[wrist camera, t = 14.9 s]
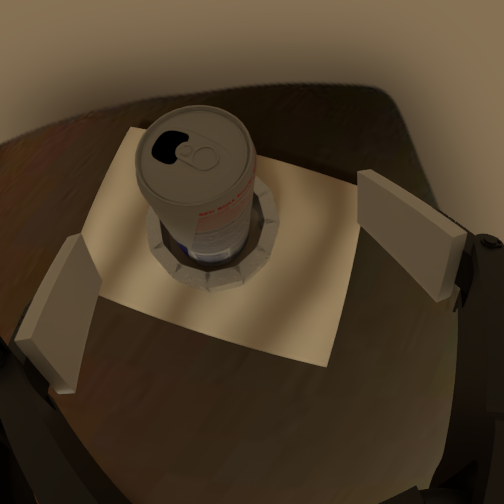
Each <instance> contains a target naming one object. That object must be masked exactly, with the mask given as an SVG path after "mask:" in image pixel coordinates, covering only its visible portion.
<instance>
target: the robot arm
mask: <svg viewBox="0 0 504 504" xmlns="http://www.w3.org/2000/svg"><path fill="white" fill-rule="evenodd" d="M357 223H358V224H359V225H360V226H362V227H363V228H364V229H365V230H366V231H367V232H368V233H369V234H370V235H371V236H372V237H373V238H374V239H375V240H376V241H377V242H378V243H379V244H380V245H381V246H382V247H383V248H384V249H385V250H387V251H388V252H389V253H390V254H391V255H392V256H393V257H394V258H395V259H396V260H397V261H398V262H399V263H400V264H401V266H402V267H403V268H404V269H405V270H406V271H407V272H408V273H409V274H410V275H411V276H412V277H413V278H414V279H415V280H416V281H417V282H418V283H419V284H420V285H421V286H422V287H423V288H424V290H425V291H426V292H427V293H428V294H429V295H430V296H431V297H432V298H433V299H434V300H435V301H436V303H437V302H439V301H441V300H444V299H446V298H448V297H450V296H451V294H452V290H453V287H454V284H456V285H457V286H458V287H459V288H460V291H459V294H458V297H457V300H456V303H455V306H454V309H453V312H456V309H457V308H458V345H457V362H456V375H455V385H454V394H453V402H452V409H451V416H450V422H449V428H448V433H447V438H446V443H445V448H444V453H443V456H442V459H441V461H440V463H439V465H438V467H437V469H436V470H435V473H434V475H433V477H432V480H431V483H430V486H429V489H424V490H418V488H417V486H414V487H412V488H410V489H408V490H406V491H404V492H402V493H400V494H398V495H396V496H394V497H392V498H390V499H388V500H386V501H383V502H381V503H379V504H504V244H503V243H502V242H501V241H500V240H499V239H498V238H496V237H494V236H491V235H488V234H478V235H476V236H475V235H474V234H472V233H471V232H470V231H468V230H467V229H466V228H464V227H463V226H461V225H460V224H459V223H457V222H455V221H454V220H453V219H452V218H450V217H448V216H447V215H446V214H444V213H443V212H442V211H440V210H438V209H435V208H433V207H431V206H429V205H428V204H426V203H425V202H423V201H421V200H420V199H418V198H417V197H415V196H414V195H412V194H411V193H409V192H408V191H406V190H404V189H403V188H401V187H400V186H398V185H396V184H395V183H393V182H391V181H390V180H388V179H386V178H385V177H383V176H381V175H380V174H378V173H376V172H374V171H373V170H371V169H369V170H363V171H357ZM101 284H102V279H101V277H100V275H99V273H98V271H97V269H96V266H95V264H94V262H93V260H92V257H91V255H90V253H89V251H88V248H87V246H86V244H85V241H84V239H83V236H82V234H81V233H80V234H76V235H73V236H70V237H67V239H66V241H65V242H64V244H63V246H62V247H61V249H60V251H59V252H58V254H57V256H56V257H55V259H54V261H53V263H52V265H51V266H50V268H49V270H48V272H47V274H46V275H45V277H44V279H43V281H42V283H41V285H40V287H39V289H38V291H37V293H36V295H35V297H34V299H32V300H31V302H30V303H29V304H28V305H27V306H26V308H25V309H24V312H23V314H22V316H21V319H20V320H19V322H18V326H16V329H15V331H14V333H13V335H12V338H11V340H10V342H9V345H8V346H7V345H6V343H5V342H4V341H3V339H2V338H1V336H0V504H37V503H36V500H35V497H34V495H35V496H36V498H37V500H38V502H39V503H40V504H132V503H131V502H130V501H129V500H128V499H127V498H126V497H125V496H124V495H123V494H122V492H121V491H120V490H119V489H118V488H117V487H116V486H115V485H114V483H113V482H112V481H111V480H110V479H109V477H108V476H107V475H106V474H105V473H104V471H103V470H102V469H101V468H100V466H99V465H98V464H97V463H96V461H95V460H94V459H93V457H92V456H91V455H90V453H89V452H88V451H87V449H86V448H85V447H84V445H83V444H82V443H81V441H80V440H79V438H78V437H77V435H76V434H75V432H74V431H73V430H72V428H71V427H70V425H69V424H68V422H67V420H66V419H65V417H64V416H63V414H62V413H61V411H60V409H59V408H58V406H57V404H56V403H55V401H54V399H53V398H52V397H51V396H50V395H49V394H48V388H49V384H50V385H51V386H52V387H53V389H54V390H55V391H56V392H57V393H58V394H66V393H75V391H76V386H77V380H78V375H79V370H80V365H81V361H82V356H83V352H84V347H85V343H86V339H87V335H88V331H89V327H90V323H91V319H92V316H93V312H94V308H95V305H96V301H97V298H98V294H99V291H100V288H101ZM33 493H34V494H33Z"/></svg>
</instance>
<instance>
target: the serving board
mask: <svg viewBox="0 0 504 504" xmlns="http://www.w3.org/2000/svg"><path fill="white" fill-rule="evenodd" d="M145 131H146V129H140V128H134V127H130V129H129V131H128V132H127V134H126V136H125V138H124V140H123V142H122V144H121V146H120V147H119V149H118V151H117V153H116V155H115V157H114V159H113V161H112V163H111V165H110V167H109V169H108V172H107V174H106V176H105V178H104V180H103V182H102V184H101V187H100V189H99V191H98V193H97V195H96V198H95V200H94V202H93V205H92V207H91V209H90V212H89V214H88V217H87V219H86V222H85V224H84V227H83V229H82V232H81V234H82V236H83V239H84V241H85V244H86V246H87V248H88V251H89V253H90V255H91V257H92V260H93V262H94V264H95V266H96V269H97V271H98V273H99V275H100V277H101V279H102V284H101V288H100V291H99V294H98V295H100V296H102V297H105V298H107V299H110V300H112V301H115V302H117V303H120V304H122V305H125V306H127V307H130V308H133V309H135V310H138V311H141V312H143V313H146V314H149V315H151V316H154V317H157V318H160V319H162V320H165V321H168V322H171V323H174V324H177V325H180V326H183V327H186V328H189V329H192V330H195V331H198V332H201V333H204V334H207V335H210V336H213V337H216V338H220V339H223V340H226V341H229V342H233V343H236V344H239V345H243V346H246V347H250V348H253V349H257V350H260V351H264V352H268V353H271V354H275V355H279V356H283V357H287V358H290V359H294V360H298V361H302V362H307V363H311V364H315V365H319V366H324V367H327V364H328V360H329V357H330V353H331V350H332V346H333V343H334V339H335V335H336V332H337V328H338V324H339V320H340V316H341V312H342V308H343V304H344V300H345V296H346V292H347V288H348V283H349V279H350V274H351V270H352V265H353V260H354V256H355V251H356V246H357V240H358V235H359V230H360V225H359V224H358V223H357V186H356V185H353V184H351V183H348V182H345V181H342V180H339V179H336V178H333V177H330V176H327V175H324V174H321V173H318V172H314V171H311V170H308V169H305V168H301V167H298V166H295V165H292V164H288V163H285V162H281V161H278V160H274V159H271V158H267V157H264V156H260V155H256V156H257V167H256V176H257V177H258V178H259V179H261V180H262V181H263V182H264V183H265V184H266V185H267V186H268V187H269V188H270V189H271V190H270V191H272V194H273V198H274V201H275V205H276V208H277V212H278V215H279V219H280V224H279V228H278V232H277V235H276V239H275V242H274V246H273V249H272V253H271V255H270V258H269V260H268V262H267V264H266V265H265V266H264V267H263V268H262V269H261V270H260V271H259V272H258V273H257V274H255V275H254V276H253V277H252V278H251V279H250V280H249V281H248V282H247V283H246V284H245V285H243V286H241V287H236V288H232V289H228V290H223V291H219V292H214V293H209V292H206V291H203V290H199V289H196V288H193V287H190V286H187V285H184V284H181V283H180V282H178V281H177V280H175V279H174V278H173V277H171V275H170V274H169V273H168V272H167V271H166V270H165V269H164V267H163V266H162V265H161V264H160V263H159V261H158V260H157V259H156V258H155V257H154V256H153V254H152V253H151V252H150V249H149V243H148V236H147V229H146V222H145V219H146V218H145V217H146V214H147V212H148V209H149V207H150V205H149V203H148V202H147V200H146V199H145V198H144V196H143V195H142V193H141V191H140V189H139V186H138V184H137V178H136V167H135V153H136V150H137V146H138V143H139V141H140V139H141V137H142V136H143V134H144V133H145ZM168 233H169V231H168ZM261 233H262V232H261V228H260V224H259V221H258V217H257V213H256V211H255V210H254V209H253V208H252V209H251V217H250V226H249V234H248V240H247V243H246V246H245V248H244V249H243V251H242V252H241V254H240V255H239V256H238V257H237V258H235V259H234V260H233V261H231V262H229V263H227V264H225V265H221V266H215V267H209V266H203V265H200V264H197V263H196V262H194V261H192V260H191V259H190V258H189V257H187V256H186V254H185V253H184V252H183V250H182V249H181V248H180V246H179V245H178V244H177V242H176V241H175V239H174V238H173V237H172V235H171V234H170V233H169V238H170V244H171V250H172V254H173V255H174V256H175V258H176V259H177V260H178V261H179V262H180V263H181V264H182V265H185V266H188V267H191V268H194V269H198V270H201V271H204V272H207V273H209V272H213V271H218V270H222V269H226V268H231V267H235V266H237V265H238V264H239V263H240V262H241V261H242V260H244V259H245V258H246V257H247V256H248V255H249V254H250V253H251V252H252V251H253V250H254V249H256V248H257V246H258V243H259V239H260V236H261Z"/></svg>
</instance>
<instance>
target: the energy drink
mask: <svg viewBox="0 0 504 504" xmlns="http://www.w3.org/2000/svg"><path fill="white" fill-rule="evenodd" d="M135 167H136V178H137V184H138V186H139V189H140V191H141V193H142V195H143V196H144V198H145V199H146V200H147V202H148V203H149V205H150V206H151V208H152V209H153V210H154V212H155V213H156V215H157V216H158V217H159V219H160V220H161V222H162V223H163V224H164V226H165V227H166V229H167V230H168V231H169V233H170V234H171V235H172V237H173V238H174V239H175V241H176V242H177V244H178V245H179V246H180V248H181V249H182V250H183V252H184V253H185V254H186V256H187V257H189V258H190V259H191V260H192V261H194V262H196V263H197V264H200V265H203V266H209V267H215V266H221V265H225V264H227V263H229V262H231V261H233V260H234V259H235V258H237V257H238V256H239V255H240V254H241V252H242V251H243V249H244V248H245V246H246V243H247V240H248V234H249V226H250V217H251V209H252V201H253V192H254V184H255V176H256V167H257V156H256V150H255V147H254V144H253V141H252V140H251V137H250V135H249V132H248V130H247V129H246V127H245V126H244V124H243V123H242V122H241V121H240V120H239V119H238V118H237V117H235V116H234V115H232V114H231V113H229V112H228V111H225V110H223V109H220V108H217V107H212V106H207V105H193V106H186V107H182V108H178V109H175V110H173V111H171V112H169V113H166V114H165V115H163V116H162V117H160V118H159V119H157V120H156V121H155V122H154V123H153V124H152V125H150V126H149V128H148V129H147V130H146V131H145V133H144V134H143V136H142V137H141V139H140V141H139V143H138V146H137V150H136V153H135Z"/></svg>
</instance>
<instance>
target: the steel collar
mask: <svg viewBox="0 0 504 504" xmlns="http://www.w3.org/2000/svg"><path fill="white" fill-rule="evenodd" d="M270 190H271V189H270V188H269V187H268V186H267V185H266V184H265V183H264V182H263V181H262V180H261V179H259V178H258V177H257V176H255V184H254V192H253V201H252V208H253V209H254V210H255V211H256V213H257V217H258V221H259V224H260V228H261V232H262V233H261V236H260V239H259V243H258V246H257V248H256V249H254V250H253V251H252V252H251V253H250V254H249V255H248V256H247V257H246V258H245V259H244V260H242V261H241V262H240V263H239V264H238V265H237V266H235V267H231V268H226V269H222V270H218V271H213V272H209V273H207V272H204V271H201V270H198V269H194V268H191V267H188V266H185V265H182V264H181V263H180V262H179V261H178V260H177V259H176V258H175V256H174V255H173V254H172V250H171V244H170V238H169V233H168V230H167V229H166V227H165V226H164V224H163V223H162V222H161V220H160V219H159V217H158V216H157V215H156V213H155V212H154V210H153V209H152V208H151V206H150V207H149V209H148V212H147V214H146V217H145V218H146V219H145V222H146V229H147V236H148V243H149V249H150V252H151V253H152V254H153V256H154V257H155V258H156V259H157V260H158V261H159V263H160V264H161V265H162V266H163V267H164V269H165V270H166V271H167V272H168V273H169V274H170V275H171V277H173V278H174V279H175V280H177V281H178V282H180V283H181V284H184V285H187V286H190V287H193V288H196V289H199V290H203V291H206V292H209V293H214V292H219V291H223V290H228V289H232V288H236V287H241V286H243V285H245V284H246V283H247V282H248V281H249V280H250V279H251V278H252V277H253V276H254V275H255V274H257V273H258V272H259V271H260V270H261V269H262V268H263V267H264V266H265V265H266V264H267V262H268V260H269V258H270V255H271V253H272V249H273V246H274V242H275V239H276V235H277V232H278V228H279V224H280V219H279V215H278V212H277V208H276V205H275V201H274V198H273V194H272V191H270Z"/></svg>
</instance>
